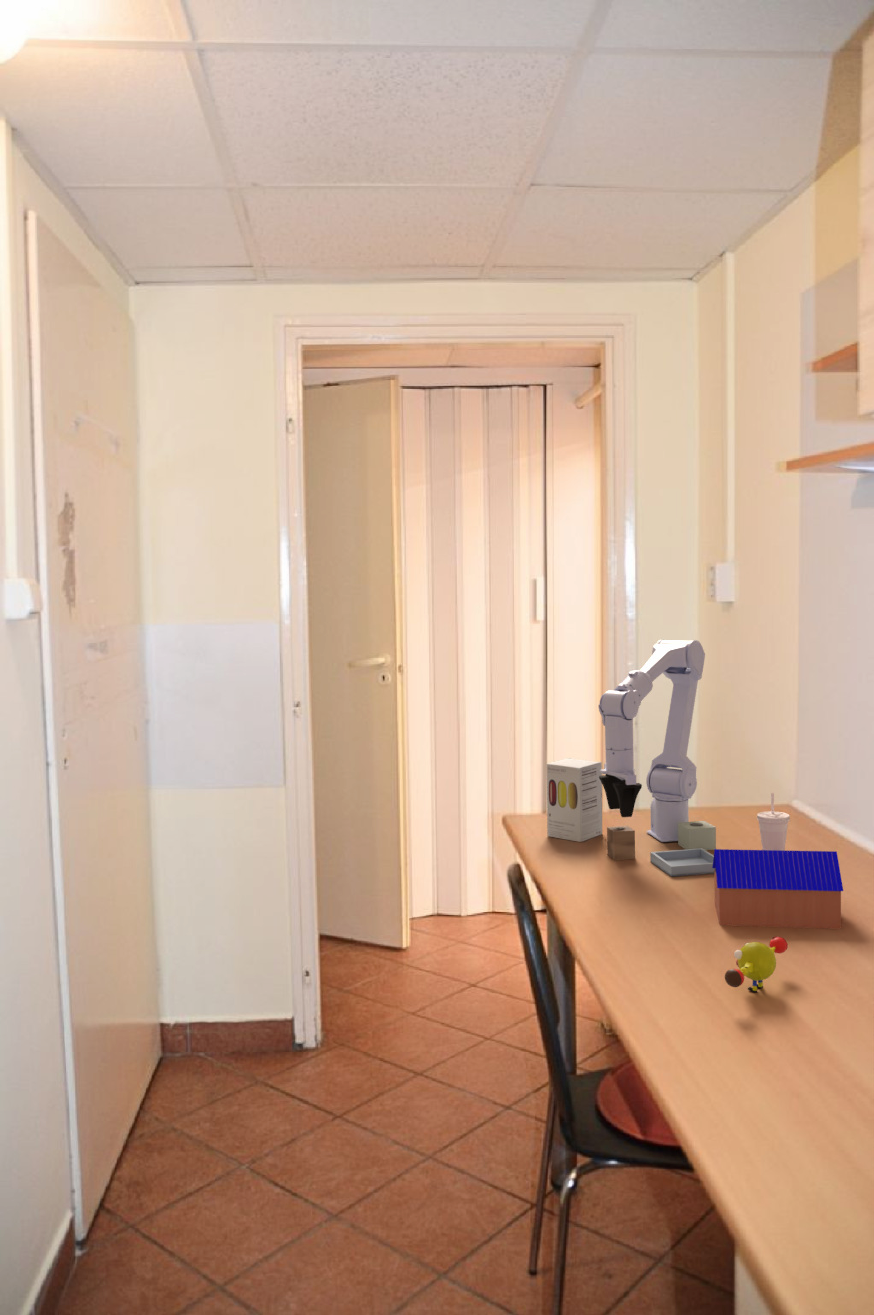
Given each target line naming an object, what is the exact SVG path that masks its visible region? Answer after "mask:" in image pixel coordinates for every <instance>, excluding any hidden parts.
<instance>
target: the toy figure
mask: <svg viewBox="0 0 874 1315" xmlns="http://www.w3.org/2000/svg"><path fill="white" fill-rule="evenodd" d="M788 947H789V946H788V942H787V940H786V939H785V938H783V937H781V936H773V937H772V939H770V941H769V946H768V945H767V944H765V943H762V942H760V941H759V942H758V941H752V942H747V943H745V944H744V945H743V946H742V947H741V948H740V949H737V950H735V951H734V953H733V955H734V958H735V959H736V961H735V963H736V964H735V965H736V966H737V968H730V969H728V970H727V971H726V972H725V974H724V981H725V983H726V984H727V985H728V986H730V987H732V988H738V987H740V986H742V985H743V984H744V982H745V977H747V979H749V980H752V986H749V987H747V990H748V991H750V992H752V993H758V990H761V989H763V988H764V985H763V984H764V982H763V981H765V980H766V979H768V978H770V977H771V976H772V975H773V974H774V972H775V970H776V968H777V967H776V966H777V959H776V956H775V954H784V953H785V952H786V951H787V949H788ZM738 968H739V969H738Z"/></svg>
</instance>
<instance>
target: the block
mask: <svg viewBox="0 0 874 1315" xmlns="http://www.w3.org/2000/svg"><path fill="white" fill-rule="evenodd" d="M606 838H607V840H606V844H607V845H606V846H607V847H606V848H607V853H606V854H607V856H608V857H610V858H611V859H612V860H613V861H625V860H635V859H636V830H635V829H633V828H632V827H630V826H629V825H620V826H619V825H616V826H614V825H613V826H606Z"/></svg>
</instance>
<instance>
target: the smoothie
mask: <svg viewBox="0 0 874 1315" xmlns="http://www.w3.org/2000/svg"><path fill="white" fill-rule="evenodd" d="M770 803H771V804H770V810H769V811H761V812H757V814H756V815H757V816H756V820H757V821H758V825H759V826H758V827H759V834H760V842H761V850H783V851H786V850H785V849H786V842H787V834H788V826H789V822H790V821H791V819H790V814H789V813H787V812H781V811H775V793H774V792H771V793H770Z"/></svg>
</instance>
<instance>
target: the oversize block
mask: <svg viewBox="0 0 874 1315" xmlns="http://www.w3.org/2000/svg"><path fill="white" fill-rule="evenodd" d="M677 842H678V843H677V844H678V846H680V847H681V848H683V850H686V849H700V848H702V849H704V850H706V851H714V849H717V826H714V825H713V824H711V823H709V822H708V821H705V820H697V821H696V820H693V821H689V822H679V823H678V841H677Z"/></svg>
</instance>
